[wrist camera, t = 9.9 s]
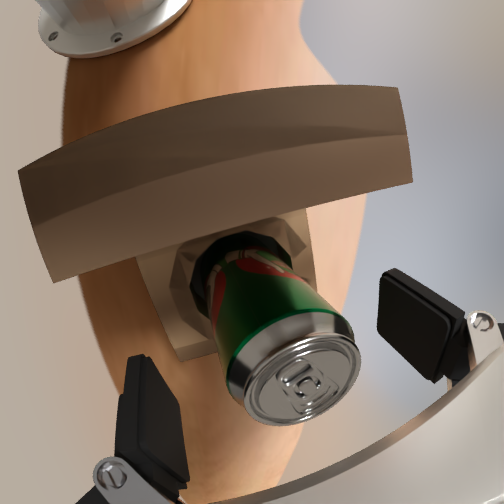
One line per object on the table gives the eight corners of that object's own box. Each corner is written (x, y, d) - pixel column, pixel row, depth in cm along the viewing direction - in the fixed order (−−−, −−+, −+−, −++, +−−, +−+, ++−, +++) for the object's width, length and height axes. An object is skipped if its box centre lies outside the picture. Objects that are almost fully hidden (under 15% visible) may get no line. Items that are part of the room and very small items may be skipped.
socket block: (119, 166, 15) (17, 170, 4) (272, 127, 17) (397, 87, 6) (179, 337, 20) (192, 474, 9) (303, 298, 22) (393, 399, 11)
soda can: (226, 311, 20) (278, 445, 9) (184, 259, 18) (199, 391, 7) (281, 272, 20) (381, 376, 9) (246, 217, 18) (345, 292, 7)
